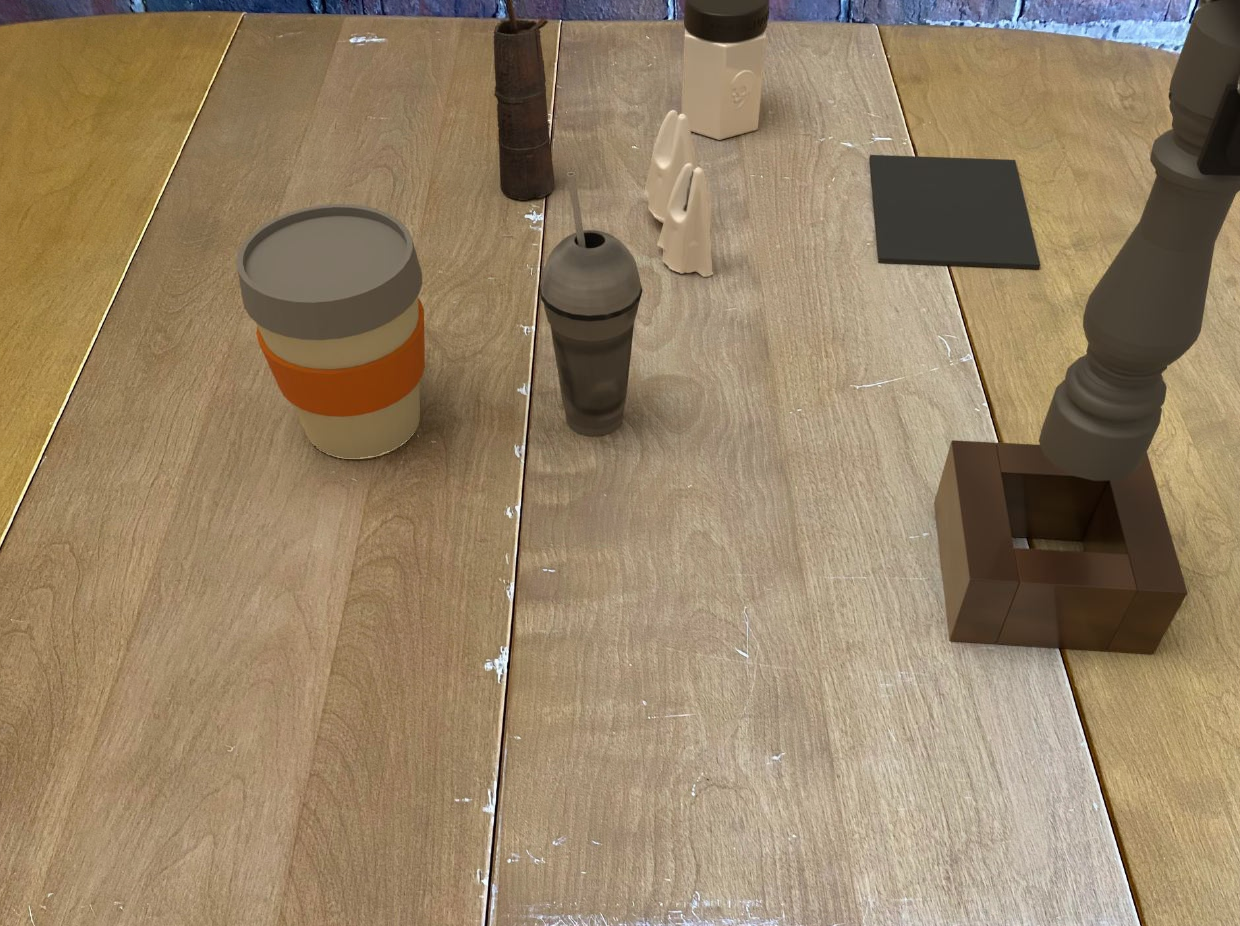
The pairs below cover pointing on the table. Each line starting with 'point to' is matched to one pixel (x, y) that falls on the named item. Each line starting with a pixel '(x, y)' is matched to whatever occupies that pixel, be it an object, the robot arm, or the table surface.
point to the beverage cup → (591, 323)
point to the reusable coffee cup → (340, 323)
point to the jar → (723, 65)
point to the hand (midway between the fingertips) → (1216, 133)
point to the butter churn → (522, 109)
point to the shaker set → (680, 199)
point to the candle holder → (1152, 275)
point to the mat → (951, 212)
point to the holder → (1053, 553)
